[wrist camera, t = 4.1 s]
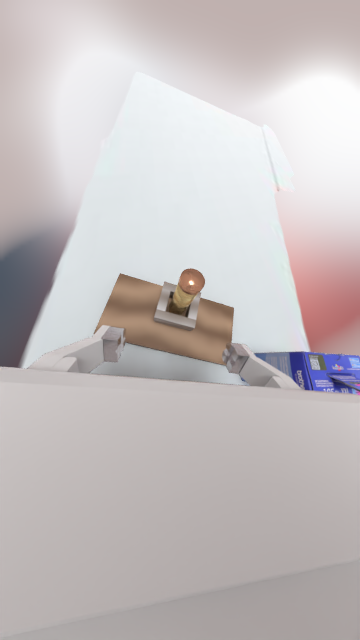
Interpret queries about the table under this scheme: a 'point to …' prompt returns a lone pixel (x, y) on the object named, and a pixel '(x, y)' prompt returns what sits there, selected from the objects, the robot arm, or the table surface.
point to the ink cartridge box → (318, 370)
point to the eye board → (168, 320)
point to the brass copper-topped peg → (186, 290)
